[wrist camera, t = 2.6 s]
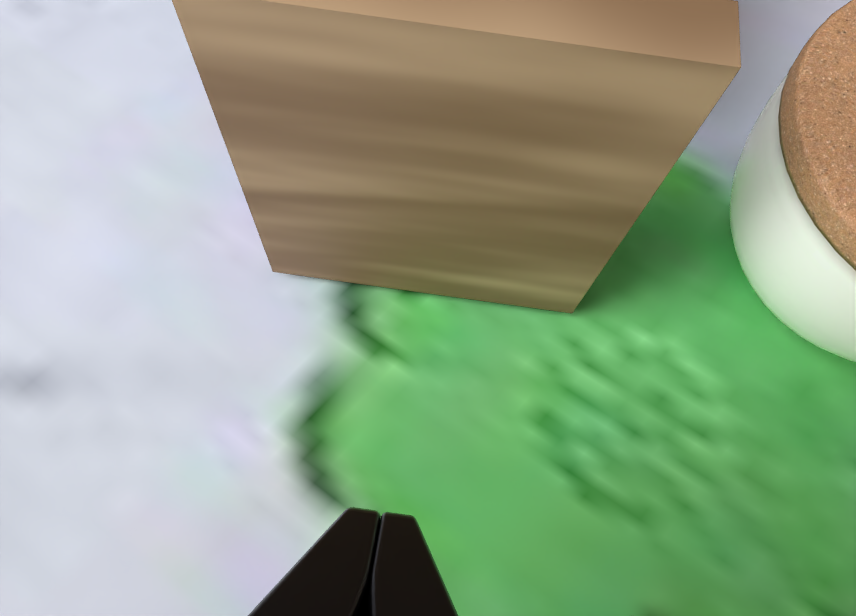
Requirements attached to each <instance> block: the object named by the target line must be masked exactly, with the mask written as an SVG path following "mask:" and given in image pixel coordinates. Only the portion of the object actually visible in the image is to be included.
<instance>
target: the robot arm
mask: <svg viewBox="0 0 856 616" xmlns="http://www.w3.org/2000/svg"><path fill="white" fill-rule="evenodd" d="M248 616H458V614H457V612H456V609H455V607H454V605H453V603H452V600H451V598H450V596H449V593H448V591H447V589H446V586H445V584H444V582H443V580H442V577H441V575H440V573H439V570H438V568H437V566H436V564H435V561H434V559H433V557H432V554H431V552H430V550H429V548H428V545H427V543H426V541H425V538H424V536H423V534H422V531H421V529H420V527H419V525H418V522H417V520H416V519H415V518H414V517H413V516H411V515H405V514H398V513H390V512H385V513H383V514H382V516H381V519H380V513H379V512H378V511H375V510H369V509H361V508H354V507H351V508H348V509H346V510H345V511H344V512H343V513H342V514H341V515H340V517H339V518H338V519H337V520H336V521H335V522H334V523H333V524H332V525H331V526H330V527H329V528H328V530H327V531H326V532H325V533H324V534H323V535H322V536H321V537H320V538H319V539H318V540H317V541H316V543H315V544H314V545H313V546H312V547H311V548H310V549H309V550H308V551H307V552H306V553H305V554H304V555H303V557H302V558H301V559H300V560H299V561H298V562H297V563H296V564H295V565H294V566H293V567H292V568H291V570H290V571H289V572H288V573H287V574H286V575H285V576H284V577H283V578H282V579H281V580H280V581H279V583H278V584H277V585H276V586H275V587H274V588H273V589H272V590H271V591H270V592H269V593H268V594H267V596H266V597H265V598H264V599H263V600H262V601H261V602H260V603H259V604H258V605H257V606H256V607H255V609H254V610H253V611H252V612H251V613H250V614H249V615H248Z"/></svg>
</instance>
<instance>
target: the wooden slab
mask: <svg viewBox="0 0 856 616" xmlns="http://www.w3.org/2000/svg"><path fill="white" fill-rule="evenodd" d="M172 2H173V5H174V7H175V10H176V13H177V15H178V18H179V21H180V23H181V26H182V29H183V32H184V34H185V37H186V40H187V42H188V45H189V48H190V50H191V53H192V56H193V58H194V61H195V64H196V66H197V69H198V72H199V74H200V77H201V80H202V83H203V85H204V88H205V91H206V93H207V96H208V99H209V101H210V104H211V107H212V109H213V112H214V115H215V117H216V120H217V123H218V126H219V128H220V131H221V134H222V136H223V139H224V142H225V144H226V147H227V150H228V152H229V155H230V158H231V160H232V163H233V166H234V168H235V171H236V174H237V177H238V179H239V182H240V185H241V187H242V190H243V193H244V195H245V198H246V201H247V203H248V206H249V209H250V211H251V214H252V217H253V220H254V222H255V225H256V228H257V230H258V233H259V236H260V238H261V241H262V244H263V246H264V249H265V252H266V254H267V257H268V260H269V262H270V265H271V268H272V271H273V272H279V273H286V274H293V275H300V276H307V277H315V278H322V279H329V280H336V281H343V282H351V283H358V284H365V285H372V286H379V287H387V288H394V289H401V290H408V291H415V292H423V293H430V294H437V295H444V296H451V297H458V298H466V299H473V300H480V301H487V302H494V303H502V304H509V305H516V306H523V307H530V308H538V309H545V310H552V311H559V312H566V313H573V311H574V310H575V308H576V307H577V305H578V304H579V303H580V301H581V300H582V298H583V297H584V295H585V294H586V292H587V291H588V289H589V288H590V287H591V285H592V284H593V282H594V281H595V279H596V278H597V276H598V275H599V273H600V272H601V271H602V269H603V268H604V266H605V265H606V263H607V262H608V260H609V259H610V257H611V256H612V255H613V253H614V252H615V250H616V249H617V247H618V246H619V244H620V243H621V241H622V240H623V238H624V237H625V236H626V234H627V233H628V231H629V230H630V228H631V227H632V225H633V224H634V222H635V221H636V220H637V218H638V217H639V215H640V214H641V212H642V211H643V209H644V208H645V206H646V205H647V204H648V202H649V201H650V199H651V198H652V196H653V195H654V193H655V192H656V190H657V189H658V188H659V186H660V185H661V183H662V182H663V180H664V179H665V177H666V176H667V174H668V173H669V172H670V170H671V169H672V167H673V166H674V164H675V163H676V161H677V160H678V158H679V157H680V155H681V154H682V153H683V151H684V150H685V148H686V147H687V145H688V144H689V142H690V141H691V139H692V138H693V137H694V135H695V134H696V132H697V131H698V129H699V128H700V126H701V125H702V123H703V122H704V121H705V119H706V118H707V116H708V115H709V113H710V112H711V110H712V109H713V107H714V106H715V105H716V103H717V102H718V100H719V99H720V97H721V96H722V94H723V93H724V91H725V90H726V89H727V87H728V86H729V84H730V83H731V81H732V80H733V78H734V77H735V75H736V74H737V72H738V71H739V70H740V68H741V58H740V35H739V12H738V1H733V0H172Z"/></svg>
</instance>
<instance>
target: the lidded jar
mask: <svg viewBox="0 0 856 616" xmlns="http://www.w3.org/2000/svg"><path fill="white" fill-rule="evenodd" d="M730 226H731V231H732V236H733V241H734V246H735V250H736V254H737V256H738V259H739V262H740V264H741V267H742V270H743V272H744V274H745V275H746V277H747V279H748V281H749V283H750V284H751V286H752V288H753V290H754V291H755V292H756V294H757V295H758V296H759V298H760V299H761V300H762V302H763V303H764V304H765V306H766V307H767V308H768V309H769V310H770V311H771V312H772V313H773V314H774V315H775V316H776V317H777V318H778V319H779V320H780V321H781V322H782V323H784V324H785V325H786V326H787V327H789V328H790V329H791V330H792V331H794V332H795V333H796V334H797V335H799V336H800V337H802V338H804V339H805V340H807V341H809V342H810V343H812V344H814V345H815V346H817V347H819V348H821V349H824V350H826V351H828V352H830V353H833V354H835V355H837V356H840V357H842V358H844V359H847V360H849V361H853V362H856V0H852V1H850V2H849V3H847V4H846V5H844V6H843V7H842V8H840V9H839V10H837V11H836V12H834V13H833V14H832V15H831V16H830V17H829V18H828V19H827V20H826V21H825V22H824V23H823V24H822V25H821V26H820V27H819V28H818V29H817V30H816V31H815V33H814V34H813V35H812V36H811V38H810V39H809V40H808V42H807V43H806V44H805V46H804V47H803V49H802V50H801V52H800V54H799V55H798V57H797V58H796V60H795V62H794V63H793V65H792V67H791V68H790V70H789V72H788V74H787V76H786V77H785V78H784V79H783V81H782V82H781V84H780V85H779V86H778V88H777V89H776V91H775V92H774V94H773V95H772V96H771V98H770V99H769V101H768V103H767V104H766V106H765V107H764V109H763V111H762V112H761V114H760V116H759V117H758V119H757V121H756V123H755V125H754V126H753V128H752V130H751V132H750V134H749V136H748V138H747V140H746V143H745V146H744V148H743V151H742V154H741V156H740V159H739V162H738V165H737V167H736V170H735V173H734V178H733V185H732V191H731V200H730Z"/></svg>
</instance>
